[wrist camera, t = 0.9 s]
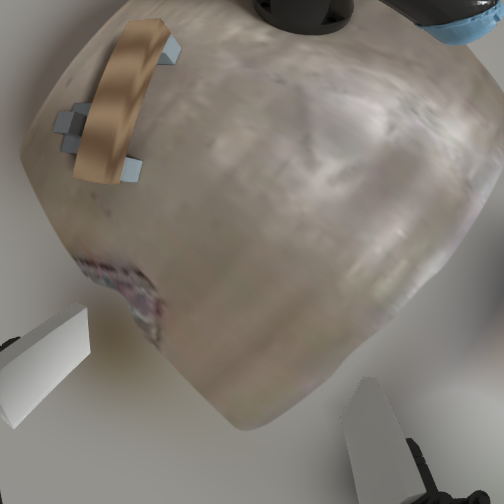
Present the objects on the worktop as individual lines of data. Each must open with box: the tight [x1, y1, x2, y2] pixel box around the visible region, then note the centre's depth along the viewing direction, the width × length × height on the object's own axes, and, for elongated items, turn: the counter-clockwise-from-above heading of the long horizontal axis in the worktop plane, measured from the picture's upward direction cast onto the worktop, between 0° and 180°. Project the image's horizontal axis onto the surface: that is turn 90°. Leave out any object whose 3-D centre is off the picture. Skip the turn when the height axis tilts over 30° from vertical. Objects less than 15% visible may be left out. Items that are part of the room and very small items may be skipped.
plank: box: [72, 19, 171, 184], centre depth 26 cm, size 22×5×4 cm, turn 165°
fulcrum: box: [53, 103, 92, 154], centre depth 29 cm, size 8×8×7 cm
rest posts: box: [120, 36, 181, 182], centre depth 30 cm, size 21×6×4 cm, turn 165°
